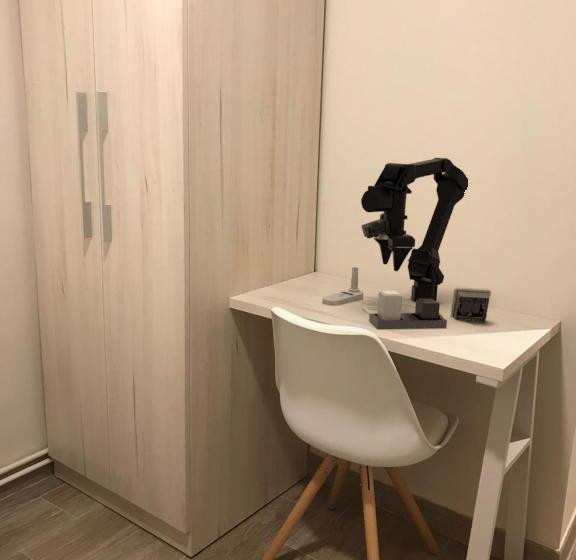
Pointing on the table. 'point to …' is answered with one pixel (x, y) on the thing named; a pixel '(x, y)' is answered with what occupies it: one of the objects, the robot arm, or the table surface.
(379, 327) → the strip
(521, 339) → the table surface
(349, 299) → the electronic device
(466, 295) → the electrical switch
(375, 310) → the tray
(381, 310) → the plug
